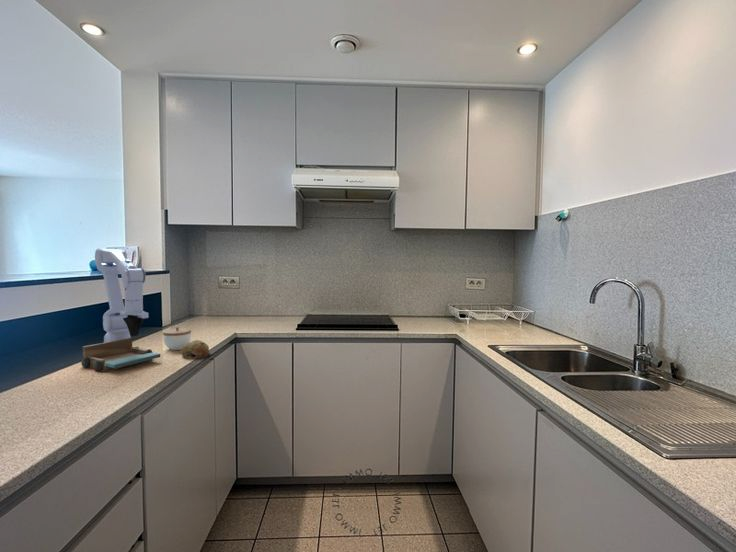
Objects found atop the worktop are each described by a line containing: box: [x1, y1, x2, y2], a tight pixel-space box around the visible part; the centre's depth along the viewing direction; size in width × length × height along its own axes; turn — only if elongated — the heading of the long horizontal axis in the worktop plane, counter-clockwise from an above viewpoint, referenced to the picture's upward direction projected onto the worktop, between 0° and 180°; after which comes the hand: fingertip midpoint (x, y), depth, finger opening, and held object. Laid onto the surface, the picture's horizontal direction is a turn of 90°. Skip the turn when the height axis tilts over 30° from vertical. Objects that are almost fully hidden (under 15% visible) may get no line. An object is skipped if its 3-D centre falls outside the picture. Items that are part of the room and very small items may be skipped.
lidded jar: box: [162, 326, 192, 351], centre depth 148 cm, size 11×11×9 cm
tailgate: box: [106, 352, 161, 369], centre depth 122 cm, size 1×16×5 cm
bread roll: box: [181, 339, 210, 360], centre depth 138 cm, size 10×10×8 cm
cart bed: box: [80, 337, 154, 373], centre depth 126 cm, size 14×18×7 cm
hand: (134, 335), depth 130 cm, fingers closed
